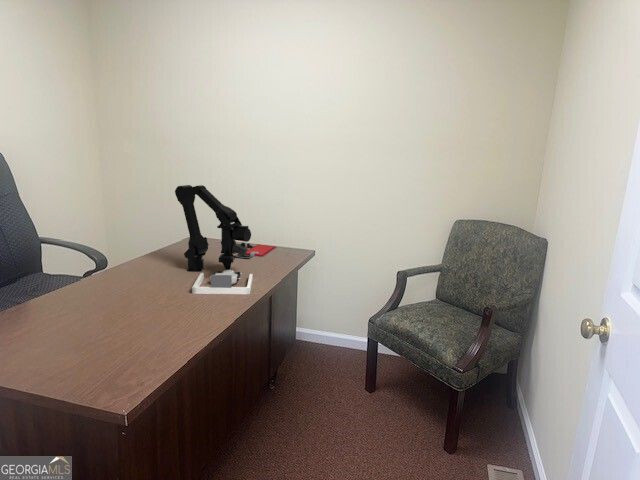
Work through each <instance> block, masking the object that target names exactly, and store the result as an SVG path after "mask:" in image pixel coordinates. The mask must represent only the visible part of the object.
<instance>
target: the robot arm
mask: <svg viewBox="0 0 640 480" xmlns="http://www.w3.org/2000/svg"><path fill="white" fill-rule="evenodd" d="M174 194H175V197H176V199H177V201H178V202H179V204H180V205H181V206H182V209H183V214H184V217H185V221H186V222H185V223H186V226H187V230H188V233H189V240H188V244H187V246H188V249H187V250H186V251H185V252H184V253H183V254H184V258H185V259H187V269H186V271H187V272H202V271H203V269H204V268H205V260H204V256H206V254H207V251H208V250H209V242H208V238H207V237H206V236H203V235H202V232H201V230H200V225H199V224H200V223H199V220H198V217H197V213H196V212H197V211H196V207H195V200H196V195H197V196H198V197H199V198H200V199H201V200H202V201H203V203H205V204H206V205H207V207H208V208H209V209H211V210H212V211H213V212H214V213H215V217H216V219H217V220H218V221H219V224H218V225H217V229H221V230H220V231H221V233H220V234H221V241H220V245H221V251H220V255H219V256H218V263H222V265H223V267H224V270H231V267H232V264H233V263H234V261H235V258H236V257H235V254H241V255H242V256H245V254H246V252H247V249H248V250H249V248H247V242H248V243H249V241H250V240H251V238H252V232H251V230H250V228H249V225H243V224H242V222H241V220H240V219H239V217H238V214H237V212H236V211H235V210H234V209H232V208H231V207H229V206H226V205H225V204H223V203H222V202H221V201H220V200H218V198H217V197H216V196H214V195H213V193H212V192H210V190H208V189H207V187H206V186H205V185H202V184H201V185H194V186H192V185H190V184H188V185H187V184H185V185H184V184H183V185H178V186H176V188H175V190H174ZM237 241H240V242H241V243H237ZM245 242H246V243H245Z"/></svg>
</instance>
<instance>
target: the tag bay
mask: <svg viewBox="0 0 640 480" xmlns="http://www.w3.org/2000/svg"><path fill="white" fill-rule="evenodd" d="M204 277H205V274H204V272H200V273H199V275H198V277H197V278H196V280H195V282H194V283H193V285H192V287H191V294H193V295H194V294H196V295H197V294H200V295H203V294H204V295H206V294H208V295H218V294H219V295H250V294H251V289H252V284H253V279H254V278H253V273H249V276H248V281H247V285H246V286H244V287H243V286H233V285H232V275H215V274H211V275H210V277H211V278H210V286H201V285H202V282H203V281H204Z"/></svg>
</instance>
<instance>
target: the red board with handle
mask: <svg viewBox="0 0 640 480" xmlns="http://www.w3.org/2000/svg"><path fill="white" fill-rule="evenodd" d="M246 247H247V248H248V249H247V252H246V254H245V256H242V255H241V254H238V253H236V255H235V254H234V256H235V258H243V259H250V258H252V257H259V258H263V257H265V256H266V255H267V254H269V253H270V252H272V251H274V250H275V249H276V248H277V246H274V245H266V244H265V245H264V244H257V245H252V244H250V243H249V242H248V243H246ZM249 247H250V248H249Z"/></svg>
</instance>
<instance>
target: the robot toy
mask: <svg viewBox="0 0 640 480" xmlns="http://www.w3.org/2000/svg"><path fill="white" fill-rule="evenodd" d="M242 274H243V273H242V272H241V271H236V272H235V271H234V270H233V269H230V270H226V269H223V270H222V271H221V270H218V271H216V272H215V274H214V275H232V286H233V285H235V284H237V282H239V281H240V280H241V277H240V276H241V275H242ZM209 279H211V276H210V277H209Z"/></svg>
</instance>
